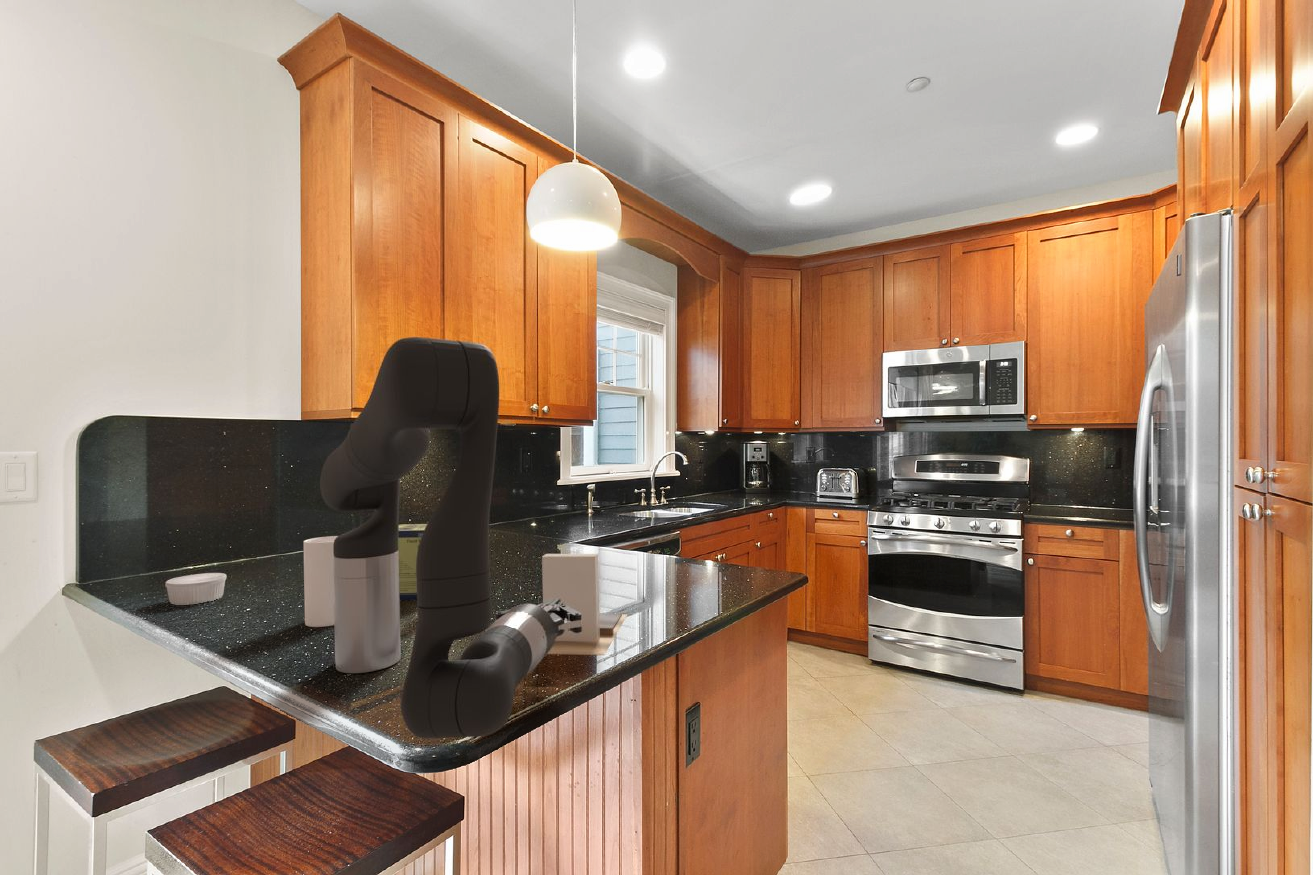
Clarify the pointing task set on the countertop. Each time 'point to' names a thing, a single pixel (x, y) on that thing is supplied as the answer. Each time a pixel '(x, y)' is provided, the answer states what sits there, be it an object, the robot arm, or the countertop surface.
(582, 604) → the tile
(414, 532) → the protein box
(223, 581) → the ramekin
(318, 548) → the cup
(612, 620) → the board
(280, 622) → the countertop surface
